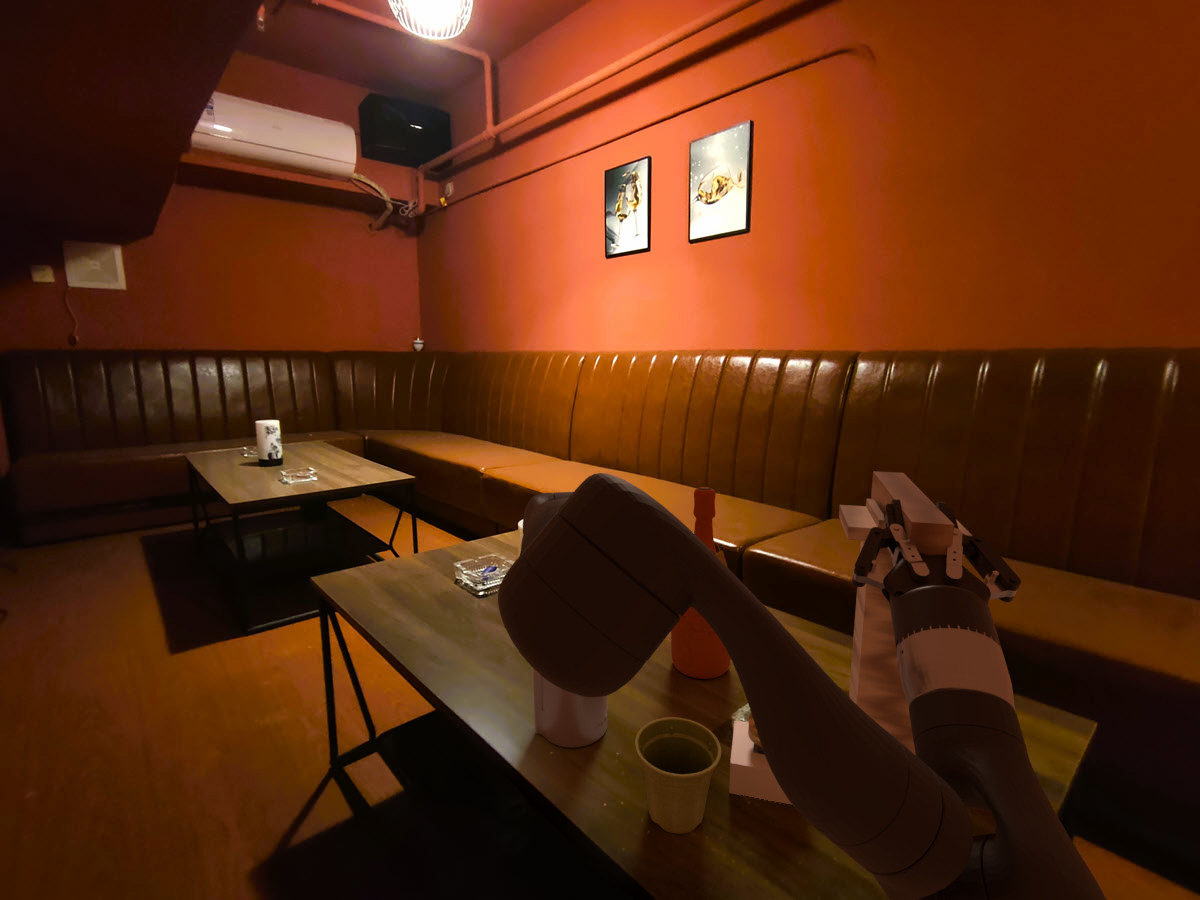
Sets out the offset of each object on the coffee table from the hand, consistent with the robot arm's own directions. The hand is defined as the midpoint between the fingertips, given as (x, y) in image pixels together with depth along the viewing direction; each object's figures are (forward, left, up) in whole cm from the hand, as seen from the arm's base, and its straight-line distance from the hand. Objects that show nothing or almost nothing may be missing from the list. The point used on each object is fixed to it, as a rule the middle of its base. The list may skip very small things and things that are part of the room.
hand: (916, 506), depth 59 cm
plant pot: (-23, -7, -36) cm, 43 cm away
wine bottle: (-24, +24, -36) cm, 49 cm away
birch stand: (0, +7, -35) cm, 36 cm away
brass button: (-13, +1, -32) cm, 35 cm away
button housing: (-13, +1, -35) cm, 38 cm away
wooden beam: (0, +5, -3) cm, 6 cm away
